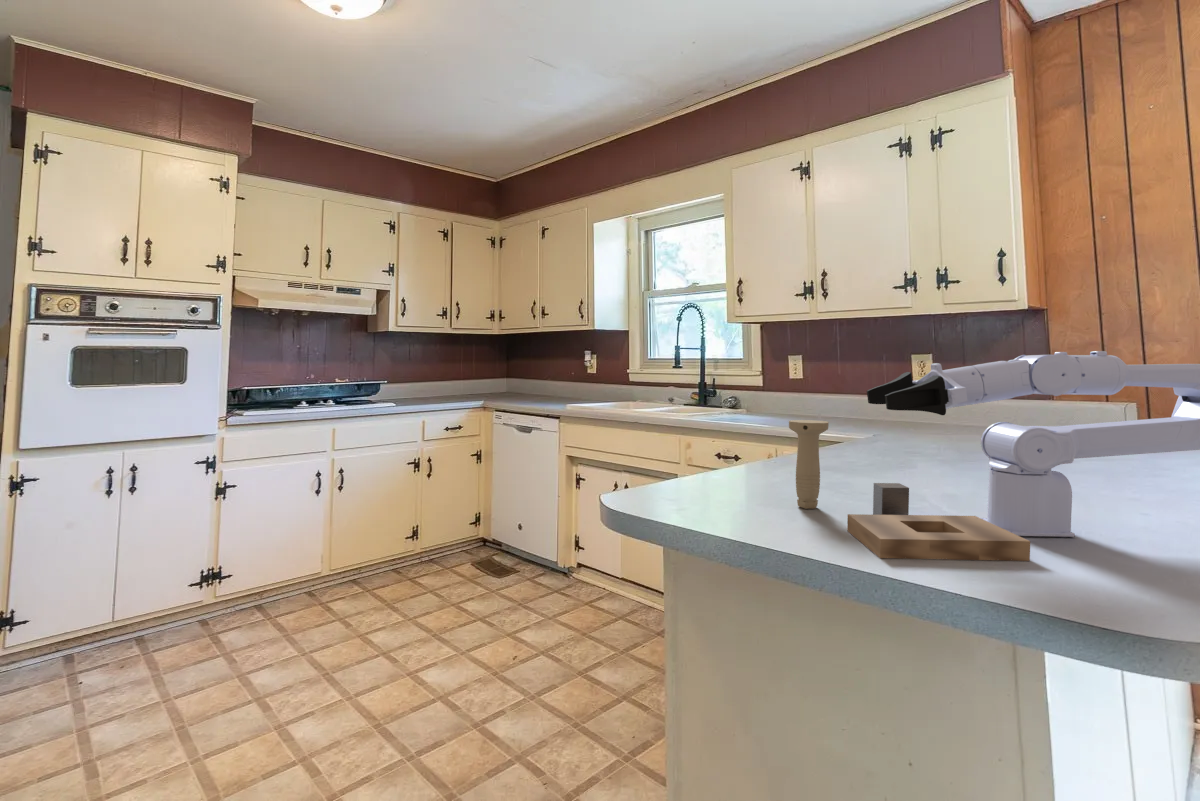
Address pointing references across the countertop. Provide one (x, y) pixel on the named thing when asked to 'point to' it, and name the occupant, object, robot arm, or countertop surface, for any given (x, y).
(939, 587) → the countertop surface
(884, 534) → the well board
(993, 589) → the countertop surface
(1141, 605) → the countertop surface
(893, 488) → the grey stone block
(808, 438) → the handle
